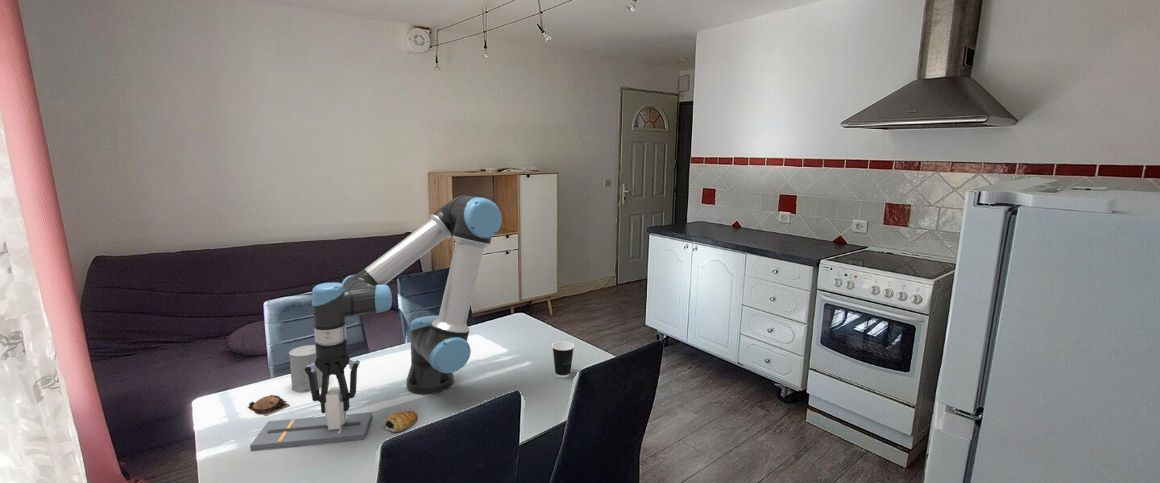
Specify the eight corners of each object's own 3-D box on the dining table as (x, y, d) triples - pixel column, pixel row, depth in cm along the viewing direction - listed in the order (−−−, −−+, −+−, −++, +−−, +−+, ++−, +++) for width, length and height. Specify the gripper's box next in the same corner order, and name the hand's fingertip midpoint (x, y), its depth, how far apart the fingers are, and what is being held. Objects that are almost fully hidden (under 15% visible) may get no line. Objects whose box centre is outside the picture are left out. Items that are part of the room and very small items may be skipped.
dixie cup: (554, 369, 178) (555, 340, 176) (576, 371, 176) (576, 342, 175) (548, 378, 170) (549, 348, 169) (571, 380, 169) (571, 350, 167)
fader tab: (344, 419, 138) (342, 386, 136) (340, 428, 133) (338, 394, 131) (333, 420, 137) (330, 386, 135) (328, 429, 132) (325, 395, 131)
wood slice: (292, 407, 149) (292, 395, 148) (263, 419, 142) (262, 407, 141) (273, 398, 154) (272, 387, 153) (244, 409, 147) (243, 397, 146)
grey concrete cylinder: (310, 393, 156) (307, 357, 154) (284, 390, 158) (281, 354, 156) (331, 381, 165) (329, 346, 163) (306, 378, 167) (304, 343, 165)
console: (372, 416, 143) (371, 411, 142) (363, 439, 131) (363, 433, 131) (268, 426, 137) (268, 420, 136) (250, 450, 125) (250, 445, 125)
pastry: (407, 414, 145) (407, 402, 144) (423, 420, 142) (423, 408, 141) (380, 428, 137) (380, 416, 136) (397, 436, 134) (396, 423, 133)
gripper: (293, 348, 126) (299, 432, 129) (360, 344, 129) (365, 426, 133) (302, 337, 133) (308, 418, 137) (366, 334, 136) (370, 412, 140)
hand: (336, 422), depth 135 cm, fingers closed on fader tab, 3 cm apart
